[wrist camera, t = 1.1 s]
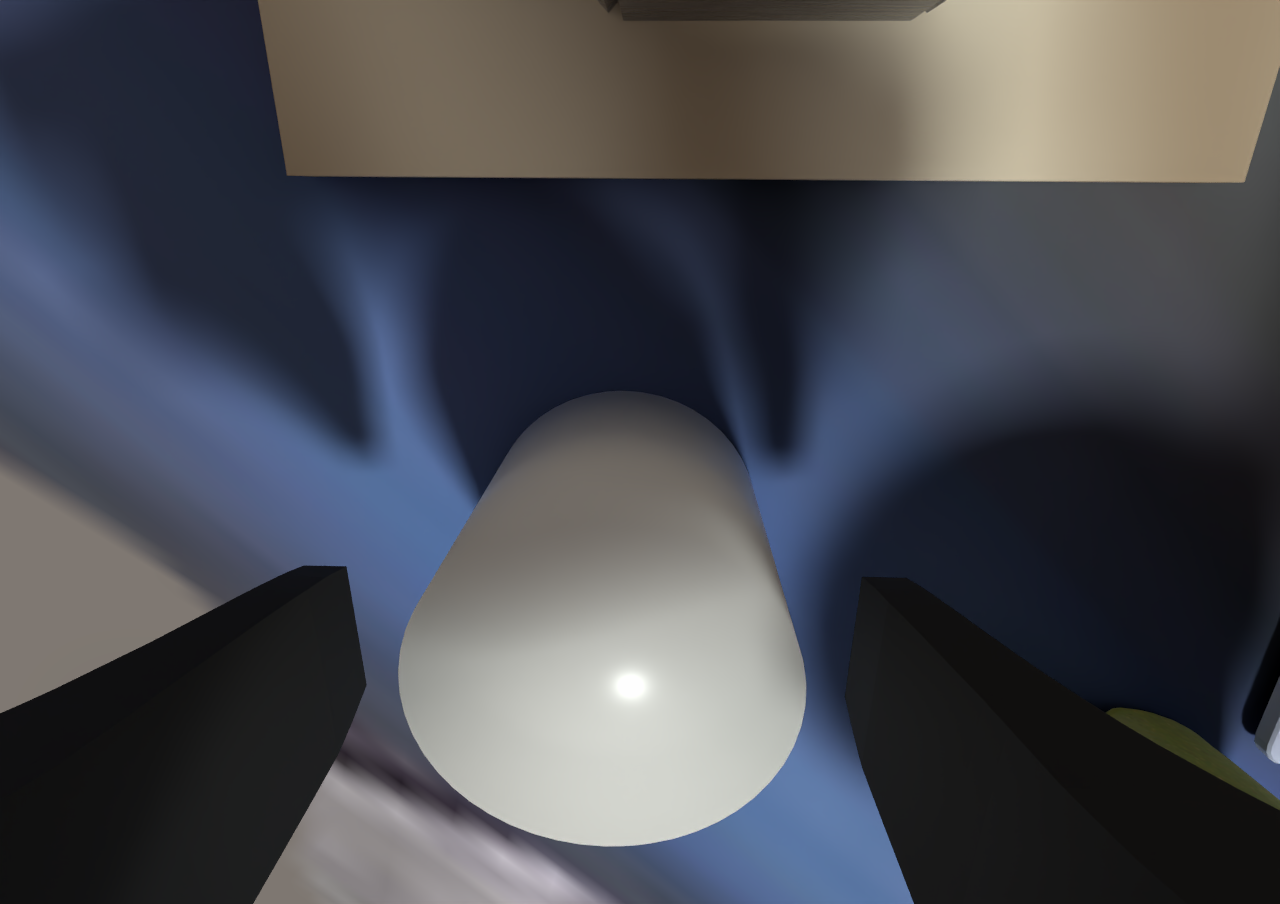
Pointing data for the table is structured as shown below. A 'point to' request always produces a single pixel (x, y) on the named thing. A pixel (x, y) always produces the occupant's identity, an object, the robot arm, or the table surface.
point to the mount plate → (773, 91)
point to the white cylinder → (608, 632)
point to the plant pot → (1191, 750)
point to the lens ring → (771, 10)
